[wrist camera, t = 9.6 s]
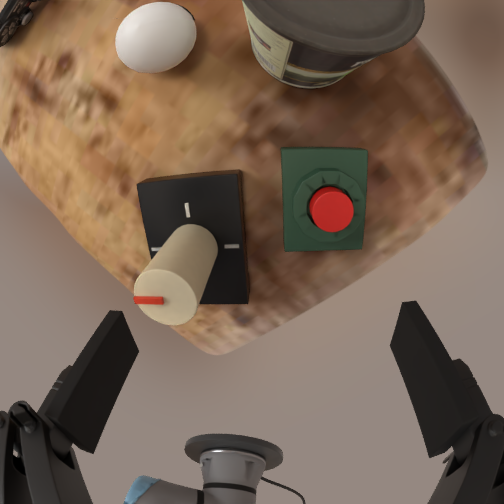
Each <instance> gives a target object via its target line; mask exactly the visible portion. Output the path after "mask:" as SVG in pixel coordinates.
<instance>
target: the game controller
mask: <svg viewBox="0 0 504 504" xmlns="http://www.w3.org/2000/svg"><path fill="white" fill-rule="evenodd" d="M36 1H41V0H8V1H7V3H6V5H5V6H4V8H3V9H2V11H1V13H0V47H1V46H3V45H5V44H6V43H7V42H8V41H9V40H10V38H11V37H12V36H13V34H14V33H15V31H16V29H17V27H18V26H20V25H22V26H23V25H26V24H27V23H28V22H29V21H30V20H31V18H32V16H33V13H32V12H31V9H30V8H29V5H30V4H31V3H32V2H36Z"/></svg>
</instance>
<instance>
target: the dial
mask: <svg viewBox="0 0 504 504" xmlns="http://www.w3.org/2000/svg"><path fill="white" fill-rule="evenodd" d="M217 253H218V246H217V242H216V240H215V238H214V236H213V235H212V234H211V233H210V232H209V231H208V230H207V229H205V228H204V227H202V226H199V225H195V224H187V225H183V226H181V227H179V228H177V229H176V230H175V231H174V232H173V234H172V235H171V236H170V237H169V239H168V240H167V241H166V242H165V243H164V245H163V246H162V247H161V249H160V250H159V251H158V252H157V254H156V255H155V256H154V257H153V259H152V260H151V261H150V263H149V264H148V265H147V266H146V268H145V269H144V270H143V272H142V273H141V274H140V276H139V277H138V278H137V280H136V282H135V286H134V295H135V296H134V302H135V304H138V305H139V307H140V308H141V309H142V311H143V312H144V313H145V314H146V315H147V316H149V317H150V318H152V319H153V320H155V321H157V322H160V323H162V324H166V325H180V324H184V323H186V322H188V321H189V320H191V319H192V318H193V317H194V315H195V313H196V311H197V308H198V306H199V303H200V300H201V297H202V295H203V292H204V289H205V286H206V284H207V281H208V278H209V275H210V273H211V270H212V267H213V265H214V262H215V259H216V257H217Z"/></svg>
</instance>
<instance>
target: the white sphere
mask: <svg viewBox="0 0 504 504" xmlns="http://www.w3.org/2000/svg"><path fill="white" fill-rule="evenodd" d="M116 19H118V18H116ZM194 20H195V19H194V17H193V15H192V14H191V13H190V12H189V11H188V10H187V9H186V8H184V7H182V6H180V5H177V4H173V3H170V2H155V3H150V4H146V5H143V6H141V7H139V8H137V9H136V10H134V11H132V12H131V13H130V14H129V15H128V16H127V17H126V18H125V19H124V20H123V22H122V23H121V25H120V26H119V28H118V31H117V34H116V50H117V53H118V56H119V58H120V59H121V61H122V62H123V63H124V64H125V65H126V66H128V67H129V68H131V69H133V70H135V71H137V72H142V73H158V72H163V71H167V70H169V69H171V68H173V67H175V66H177V65H178V64H179V63H181V62H182V61H183V60H184V59H185V58H186V57H187V56H188V54H189V53H190V52H191V50H192V49H193V47H194V44H195V41H196V25H195V23H194Z"/></svg>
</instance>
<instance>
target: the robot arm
mask: <svg viewBox="0 0 504 504" xmlns="http://www.w3.org/2000/svg"><path fill="white" fill-rule="evenodd" d="M390 347H391V350H392V352H393V354H394V357H395V359H396V362H397V364H398V367H399V369H400V372H401V375H402V377H403V380H404V382H405V385H406V388H407V390H408V393H409V396H410V399H411V402H412V404H413V407H414V410H415V413H416V416H417V419H418V422H419V425H420V429H421V432H422V435H423V438H424V442H425V445H426V448H427V452H428V455H429V458H431V457H434V456H437V455H439V454H442V453H445V452H446V451H447V450H448V449H449V448H450V447H451V446H452V447H453V450H454V451H453V452H452V453H451V454H450V455H449V456H448V457H446V458H445V460H444V461H443V463H446V462H447V461H448V460H449V461H448V463H447V465H446V468H445V470H444V472H443V475H442V477H441V479H440V481H439V483H438V485H437V487H436V489H435V491H434V493H433V495H432V496H431V499H430V500H429V502H428V504H504V418H503V417H502V416H500V415H498V414H493V413H492V411H491V410H490V408H489V406H488V404H487V401H486V399H485V397H484V395H483V393H482V391H481V389H480V387H479V386H478V385H477V382H476V380H475V378H474V377H473V374H472V372H471V371H470V369H469V367H468V366H467V365H466V364H465V363H464V362H463V361H462V360H461V359H457V360H452V359H451V358H450V356H449V354H448V352H447V351H446V349H445V347H444V345H443V344H442V342H441V340H440V338H439V337H438V335H437V333H436V332H435V330H434V328H433V327H432V325H431V324H430V322H429V320H428V319H427V317H426V315H425V314H424V312H423V311H422V309H421V308H420V306H419V305H418V303H417V301H410V302H402V305H401V309H400V313H399V317H398V320H397V324H396V327H395V330H394V334H393V337H392V340H391V344H390ZM138 353H139V350H138V348H137V345H136V343H135V341H134V339H133V336H132V334H131V332H130V329H129V327H128V325H127V322H126V319H125V317H124V314H123V312H122V311H111V310H110V311H109V312H108V314H107V315H106V317H105V318H104V319H103V321H102V322H101V324H100V325H99V327H98V328H97V329H96V331H95V333H94V334H93V336H92V337H91V338H90V340H89V341H88V343H87V344H86V346H85V347H84V349H83V350H82V352H81V353H80V355H79V357H78V358H77V360H76V361H75V363H74V364H73V366H70V365H69V366H68V367H67V368H66V369H64V370H63V371H62V372H61V374H60V375H59V377H58V378H57V380H56V382H55V383H54V385H53V386H52V389H51V390H50V391H49V393H48V395H47V396H46V398H45V400H44V402H43V403H42V405H41V407H40V408H39V410H38V412H37V413H36V412H35V411H34V410H33V409H32V408H31V407H30V405H29V404H28V403H27V402H25V401H18V402H16V403H14V404H13V405H12V406H11V407H10V410H9V412H8V414H7V413H6V412H5V411H0V504H93V503H92V501H91V498H90V496H89V493H88V490H87V488H86V485H85V482H84V480H83V477H82V474H81V471H80V468H79V465H78V462H77V459H76V455H75V452H74V450H73V448H72V447H71V446H72V444H73V443H74V444H75V445H76V446H77V447H78V448H80V449H81V450H84V451H86V452H89V453H92V454H94V451H95V449H96V446H97V444H98V442H99V439H100V437H101V434H102V432H103V429H104V427H105V424H106V422H107V420H108V418H109V415H110V413H111V410H112V409H113V406H114V404H115V402H116V399H117V397H118V395H119V393H120V391H121V388H122V386H123V384H124V382H125V380H126V378H127V376H128V373H129V371H130V369H131V367H132V365H133V363H134V361H135V359H136V357H137V355H138ZM13 449H14V450H15V451H16V452H18V456H17V457H16V456H14V455H13ZM265 466H266V459H265V457H264V456H262V455H261V454H259V453H256V452H253V451H250V450H245V449H240V448H231V447H215V448H208V449H205V450H203V451H202V452H201V455H200V468H201V470H202V475H203V479H204V485H203V491H201V490H197V489H192V488H188V487H184V486H180V485H177V484H173V483H169V482H166V481H163V480H161V479H155V478H152V477H148V476H139V477H138V478H137V479H136V480H135V481H134V482H133V484H132V486H131V488H130V489H129V491H128V493H127V496H126V498H125V501H124V504H255V502H256V488H257V485H258V483H259V481H260V479H262V480H264V481H266V482H268V483H271V484H274V485H277V486H279V487H282V488H284V489H287V490H289V491H292V492H293V493H295V494H297V495H298V496H299V497H301V499H302V501H303V504H305V500H304V498H303V496H302V495H301V494H299V493H298V492H296V491H295V490H293V489H291V488H289V487H286V486H284V485H281V484H279V483H276V482H273V481H271V480H268V479H266V478H264V477H262V474H263V472H264V470H265Z"/></svg>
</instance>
